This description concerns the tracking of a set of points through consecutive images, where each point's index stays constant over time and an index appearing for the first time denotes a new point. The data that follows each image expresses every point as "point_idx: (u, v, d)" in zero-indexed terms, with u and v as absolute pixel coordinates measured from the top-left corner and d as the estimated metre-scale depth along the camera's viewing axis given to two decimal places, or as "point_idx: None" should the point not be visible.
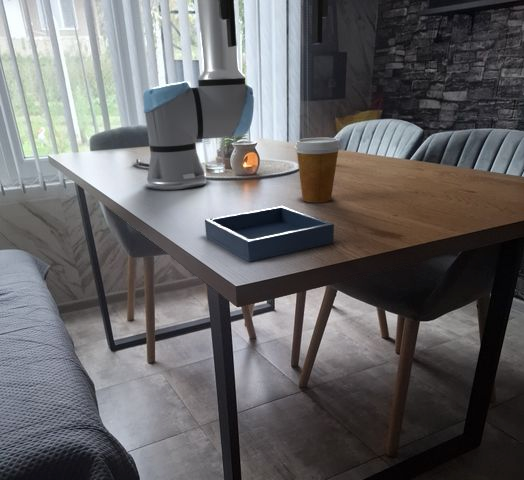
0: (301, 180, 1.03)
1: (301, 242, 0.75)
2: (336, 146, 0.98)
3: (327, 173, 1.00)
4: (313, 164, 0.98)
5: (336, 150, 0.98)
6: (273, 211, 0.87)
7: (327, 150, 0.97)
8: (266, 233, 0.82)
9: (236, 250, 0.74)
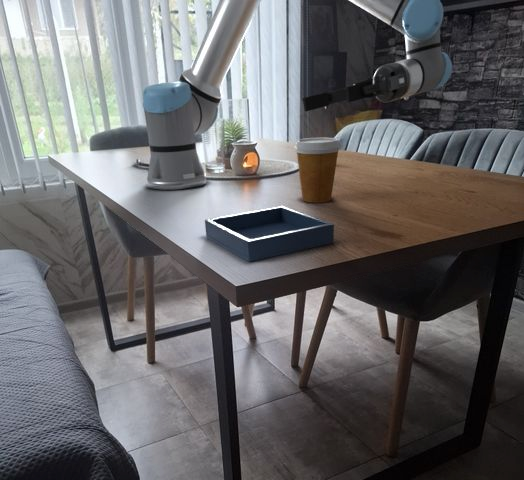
0: (301, 180, 1.03)
1: (301, 242, 0.75)
2: (336, 146, 0.98)
3: (327, 173, 1.00)
4: (313, 164, 0.98)
5: (336, 150, 0.98)
6: (273, 211, 0.87)
7: (327, 150, 0.97)
8: (266, 233, 0.82)
9: (236, 250, 0.74)
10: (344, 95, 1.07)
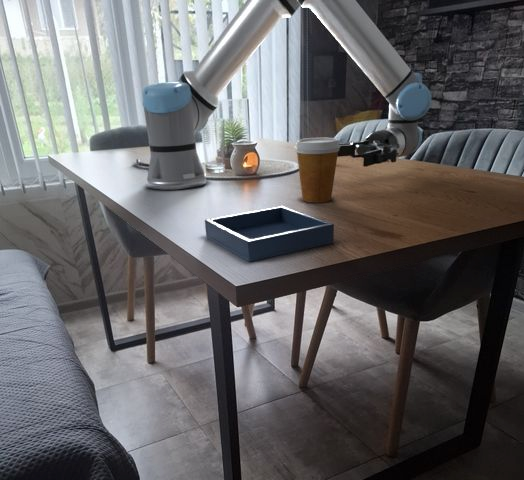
0: (301, 180, 1.03)
1: (301, 242, 0.75)
2: (336, 146, 0.98)
3: (327, 173, 1.00)
4: (313, 164, 0.98)
5: (336, 150, 0.98)
6: (273, 211, 0.87)
7: (327, 150, 0.97)
8: (266, 233, 0.82)
9: (236, 250, 0.74)
10: (343, 151, 1.16)
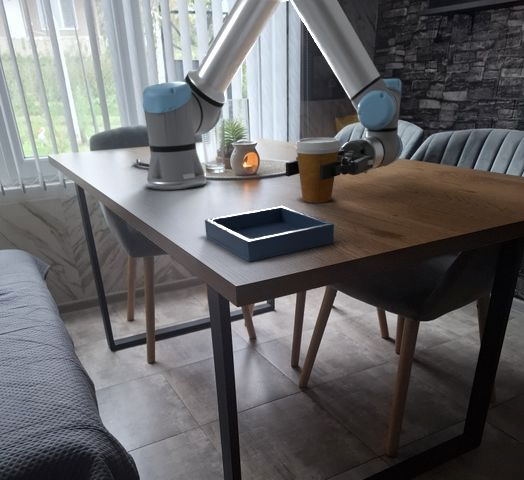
0: (301, 180, 1.03)
1: (301, 242, 0.75)
2: (336, 146, 0.98)
3: None
4: (313, 164, 0.98)
5: (336, 150, 0.98)
6: (273, 211, 0.87)
7: (327, 150, 0.97)
8: (266, 233, 0.82)
9: (236, 250, 0.74)
10: None
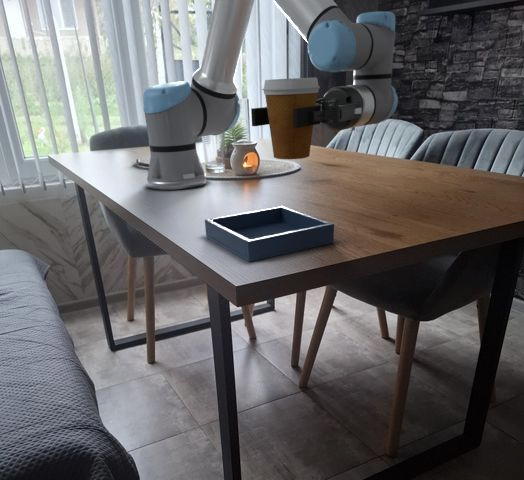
0: (271, 131, 0.82)
1: (301, 242, 0.75)
2: (314, 85, 0.77)
3: None
4: (285, 108, 0.78)
5: (314, 91, 0.78)
6: (273, 211, 0.87)
7: (302, 89, 0.76)
8: (266, 233, 0.82)
9: (236, 250, 0.74)
10: None
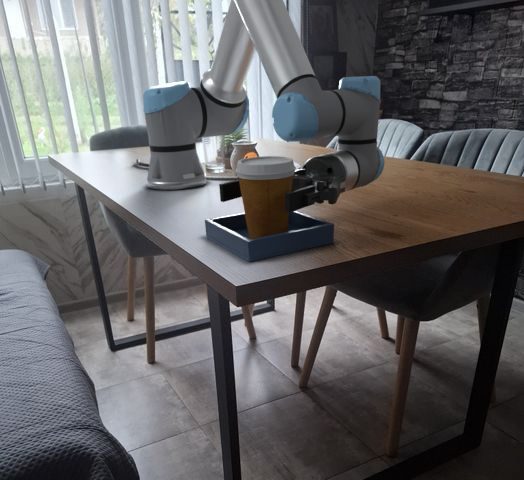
0: (245, 213, 0.77)
1: (301, 242, 0.75)
2: (289, 169, 0.73)
3: (278, 205, 0.75)
4: (258, 193, 0.73)
5: (289, 174, 0.73)
6: None
7: (276, 174, 0.72)
8: None
9: (236, 250, 0.74)
10: None
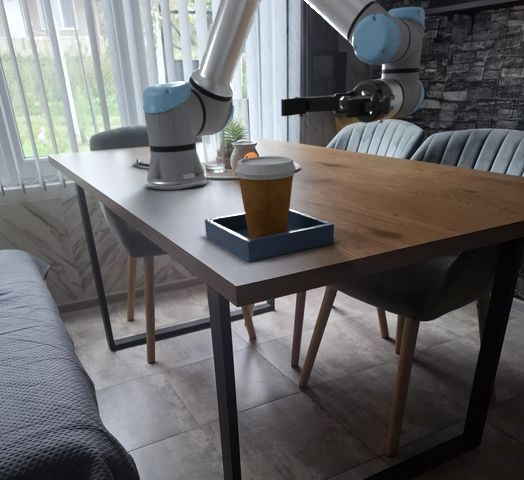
0: (245, 213, 0.77)
1: (301, 242, 0.75)
2: (289, 169, 0.73)
3: (278, 205, 0.75)
4: (258, 193, 0.73)
5: (289, 174, 0.73)
6: None
7: (276, 174, 0.72)
8: None
9: (236, 250, 0.74)
10: (323, 105, 0.92)
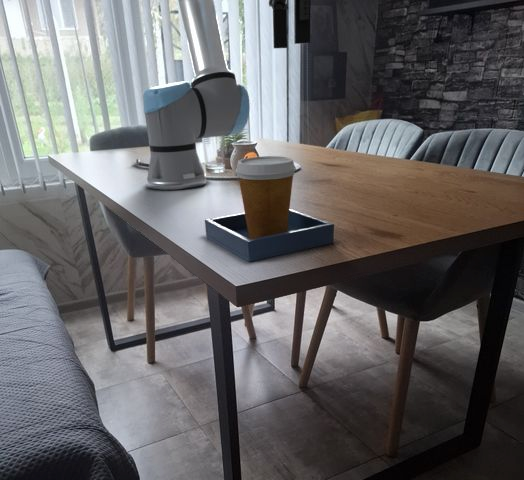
0: (245, 213, 0.77)
1: (301, 242, 0.75)
2: (289, 169, 0.73)
3: (278, 205, 0.75)
4: (258, 193, 0.73)
5: (289, 174, 0.73)
6: None
7: (276, 174, 0.72)
8: None
9: (236, 250, 0.74)
10: None
